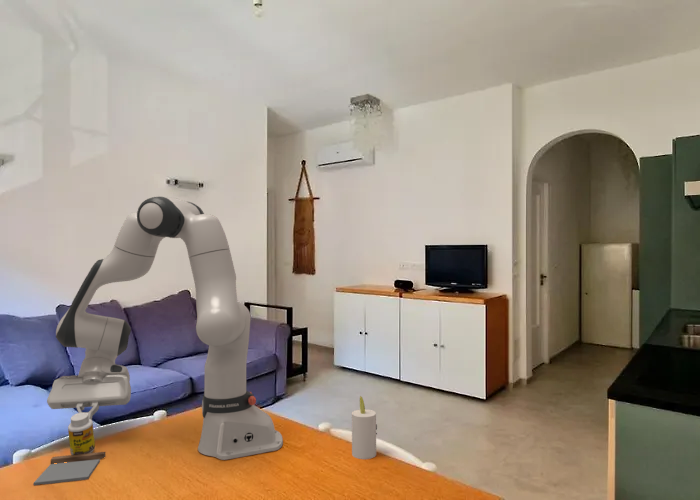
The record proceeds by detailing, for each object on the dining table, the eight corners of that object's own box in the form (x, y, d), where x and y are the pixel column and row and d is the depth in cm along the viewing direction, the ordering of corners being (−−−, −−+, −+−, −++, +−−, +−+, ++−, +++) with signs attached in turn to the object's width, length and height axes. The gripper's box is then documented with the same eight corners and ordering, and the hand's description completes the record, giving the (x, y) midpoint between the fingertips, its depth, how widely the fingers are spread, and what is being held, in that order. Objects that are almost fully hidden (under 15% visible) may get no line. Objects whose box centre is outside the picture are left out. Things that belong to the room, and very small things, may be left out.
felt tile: (99, 461, 115) (100, 459, 115) (87, 479, 105) (87, 476, 105) (50, 466, 112) (50, 464, 112) (33, 485, 103) (33, 482, 103)
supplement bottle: (71, 461, 116) (67, 424, 114) (70, 449, 120) (65, 414, 118) (96, 453, 119) (93, 417, 117) (94, 442, 124) (90, 408, 122)
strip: (105, 456, 118) (105, 451, 118) (103, 458, 117) (103, 454, 117) (53, 461, 115) (53, 456, 115) (50, 464, 114) (50, 459, 114)
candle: (380, 457, 116) (380, 397, 117) (356, 460, 114) (355, 400, 115) (372, 447, 122) (371, 391, 123) (349, 450, 120) (348, 393, 121)
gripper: (52, 370, 127) (36, 417, 117) (132, 366, 132) (123, 411, 122) (58, 382, 131) (43, 429, 121) (135, 378, 136) (127, 423, 126)
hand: (84, 420), depth 121 cm, fingers closed, pressing on supplement bottle
